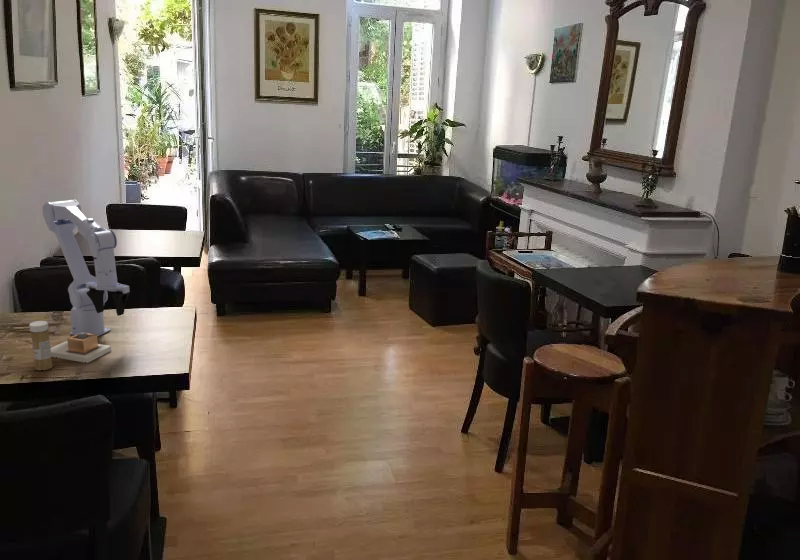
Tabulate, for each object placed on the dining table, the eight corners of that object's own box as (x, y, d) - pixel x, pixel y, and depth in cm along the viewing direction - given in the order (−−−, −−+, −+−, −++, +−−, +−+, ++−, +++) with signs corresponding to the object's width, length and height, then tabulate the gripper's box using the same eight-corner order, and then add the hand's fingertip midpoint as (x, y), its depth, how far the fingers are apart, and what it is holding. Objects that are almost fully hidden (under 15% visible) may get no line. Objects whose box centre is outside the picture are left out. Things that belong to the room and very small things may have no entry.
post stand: (45, 355, 193) (42, 334, 191) (70, 343, 202) (68, 324, 200) (87, 362, 189) (85, 341, 187) (111, 350, 198) (109, 330, 196)
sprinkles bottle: (32, 368, 184) (26, 322, 181) (49, 363, 188) (43, 319, 184) (39, 372, 182) (33, 327, 178) (56, 367, 185) (50, 322, 181)
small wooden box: (68, 351, 193) (67, 338, 192) (82, 344, 198) (81, 332, 197) (84, 353, 191) (82, 340, 190) (98, 347, 196) (96, 334, 195)
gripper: (76, 271, 196) (81, 314, 199) (115, 275, 192) (120, 319, 195) (93, 266, 202) (98, 308, 206) (132, 270, 198) (136, 312, 202)
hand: (110, 313), depth 201 cm, fingers open, 7 cm apart
